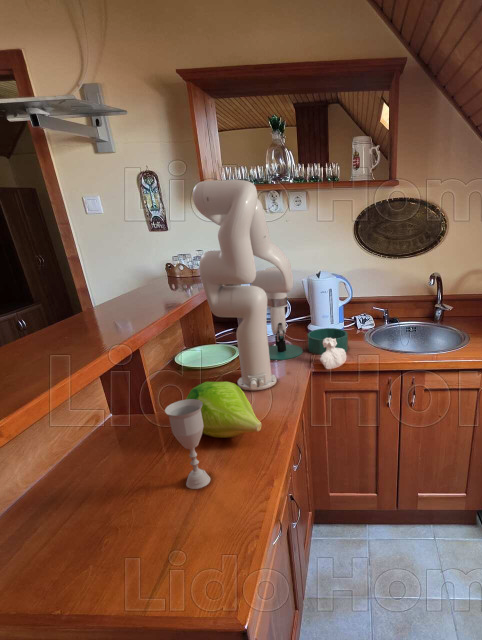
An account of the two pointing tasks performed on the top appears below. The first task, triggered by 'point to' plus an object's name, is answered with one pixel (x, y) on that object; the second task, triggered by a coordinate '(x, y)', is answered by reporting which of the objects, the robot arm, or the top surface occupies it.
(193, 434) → the chalice
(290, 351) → the lid
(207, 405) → the lettuce
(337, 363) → the white lumpy round piece
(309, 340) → the pot
